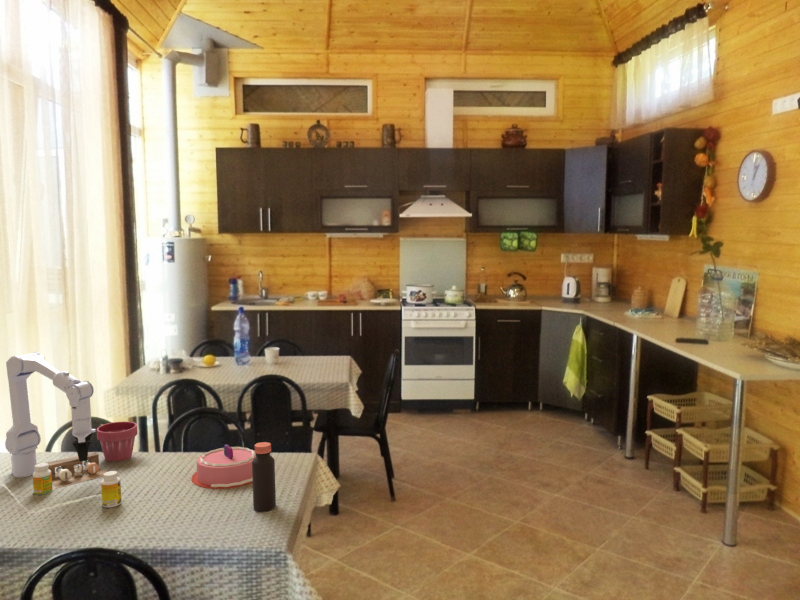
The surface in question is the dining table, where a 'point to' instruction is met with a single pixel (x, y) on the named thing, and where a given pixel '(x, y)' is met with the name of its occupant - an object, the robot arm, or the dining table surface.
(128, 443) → the plant pot
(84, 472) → the mount
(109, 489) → the supplement bottle
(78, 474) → the pot dial
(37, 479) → the supplement bottle
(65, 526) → the dining table surface
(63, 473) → the knob ivory
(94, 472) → the knob terracotta
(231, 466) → the cake
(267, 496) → the vinegar
